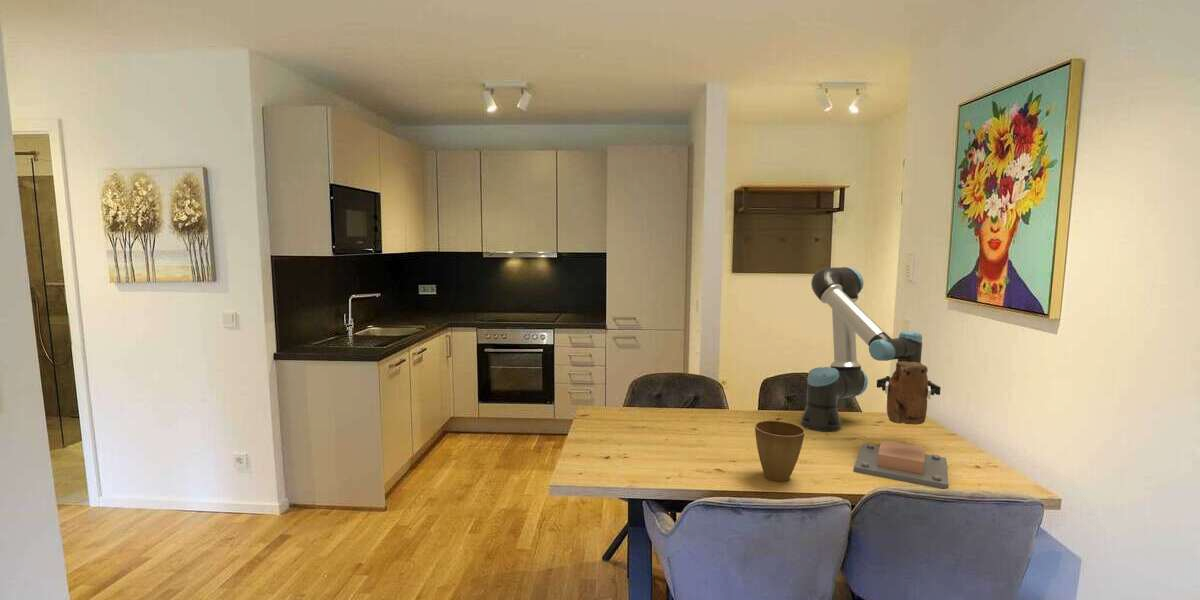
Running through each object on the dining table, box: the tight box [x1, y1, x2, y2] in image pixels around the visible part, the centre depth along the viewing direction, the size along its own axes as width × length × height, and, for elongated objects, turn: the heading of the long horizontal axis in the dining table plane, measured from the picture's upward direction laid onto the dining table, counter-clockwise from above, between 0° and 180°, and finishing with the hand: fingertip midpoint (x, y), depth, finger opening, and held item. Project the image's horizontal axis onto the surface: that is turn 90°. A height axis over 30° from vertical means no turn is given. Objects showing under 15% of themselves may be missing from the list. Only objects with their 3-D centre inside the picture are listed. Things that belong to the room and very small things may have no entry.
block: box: [886, 361, 929, 426], centre depth 183 cm, size 11×8×20 cm
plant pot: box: [754, 420, 806, 483], centre depth 174 cm, size 15×15×16 cm
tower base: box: [853, 439, 950, 489], centre depth 184 cm, size 26×26×6 cm
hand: (907, 392), depth 179 cm, fingers closed on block, 11 cm apart
